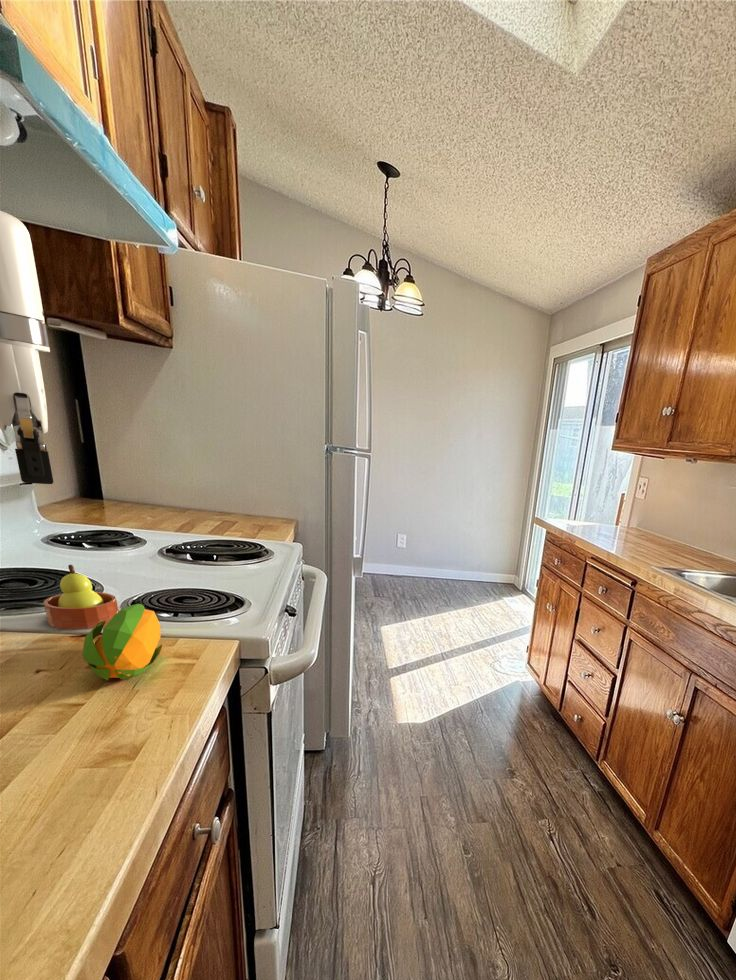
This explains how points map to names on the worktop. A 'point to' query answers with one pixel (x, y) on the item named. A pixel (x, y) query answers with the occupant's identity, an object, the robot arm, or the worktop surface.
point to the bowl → (80, 613)
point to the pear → (77, 591)
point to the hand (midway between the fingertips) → (37, 478)
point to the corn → (124, 643)
